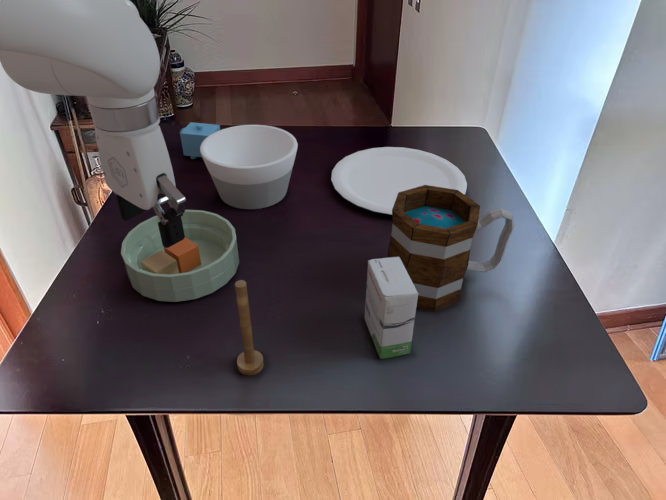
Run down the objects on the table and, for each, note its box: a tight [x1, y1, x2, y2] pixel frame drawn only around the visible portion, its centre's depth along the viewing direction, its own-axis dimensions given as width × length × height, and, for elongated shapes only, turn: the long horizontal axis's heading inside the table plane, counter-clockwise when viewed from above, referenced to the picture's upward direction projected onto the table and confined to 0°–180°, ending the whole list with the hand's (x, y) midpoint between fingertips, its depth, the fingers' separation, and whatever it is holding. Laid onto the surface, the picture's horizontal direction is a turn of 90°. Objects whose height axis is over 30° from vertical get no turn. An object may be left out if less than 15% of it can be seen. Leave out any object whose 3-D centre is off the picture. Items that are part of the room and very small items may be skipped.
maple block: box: [141, 250, 179, 274], centre depth 83 cm, size 4×4×4 cm
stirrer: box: [234, 279, 264, 376], centre depth 67 cm, size 4×4×15 cm
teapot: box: [179, 121, 221, 160], centre depth 119 cm, size 12×6×8 cm, turn 80°
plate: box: [330, 146, 468, 216], centre depth 111 cm, size 29×29×2 cm
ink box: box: [364, 257, 418, 360], centre depth 73 cm, size 9×5×12 cm, turn 13°
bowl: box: [200, 124, 299, 210], centre depth 105 cm, size 19×19×11 cm
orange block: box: [164, 238, 201, 273], centre depth 86 cm, size 4×4×4 cm
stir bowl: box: [120, 209, 240, 303], centre depth 86 cm, size 18×18×6 cm
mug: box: [387, 185, 515, 312], centre depth 82 cm, size 20×14×15 cm
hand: (153, 229), depth 72 cm, fingers open, 9 cm apart
